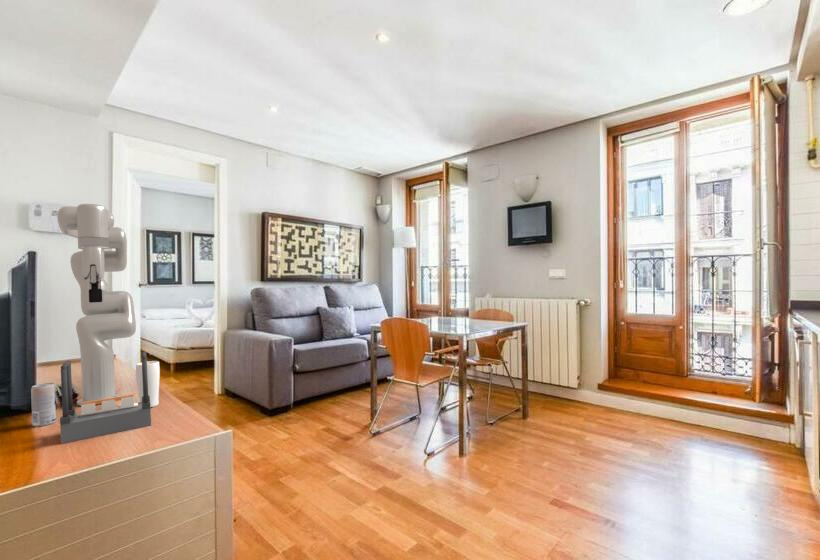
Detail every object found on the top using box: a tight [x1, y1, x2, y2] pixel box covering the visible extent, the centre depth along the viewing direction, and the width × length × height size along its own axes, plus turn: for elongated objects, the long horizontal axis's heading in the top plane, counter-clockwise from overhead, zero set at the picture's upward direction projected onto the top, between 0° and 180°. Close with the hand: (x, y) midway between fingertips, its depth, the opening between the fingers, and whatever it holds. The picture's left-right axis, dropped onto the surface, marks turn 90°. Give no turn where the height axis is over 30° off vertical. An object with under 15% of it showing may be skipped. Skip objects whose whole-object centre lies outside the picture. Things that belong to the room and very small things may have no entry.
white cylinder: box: [135, 360, 161, 409], centre depth 135 cm, size 7×7×15 cm
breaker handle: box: [77, 393, 139, 417], centre depth 114 cm, size 2×14×4 cm, turn 124°
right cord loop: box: [141, 351, 151, 410], centre depth 119 cm, size 10×2×16 cm, turn 35°
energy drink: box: [30, 382, 57, 428], centre depth 121 cm, size 5×5×12 cm
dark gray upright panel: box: [59, 360, 76, 425], centre depth 109 cm, size 10×2×16 cm, turn 35°
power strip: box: [59, 401, 152, 444], centre depth 114 cm, size 10×20×5 cm, turn 125°
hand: (95, 302), depth 124 cm, fingers closed
